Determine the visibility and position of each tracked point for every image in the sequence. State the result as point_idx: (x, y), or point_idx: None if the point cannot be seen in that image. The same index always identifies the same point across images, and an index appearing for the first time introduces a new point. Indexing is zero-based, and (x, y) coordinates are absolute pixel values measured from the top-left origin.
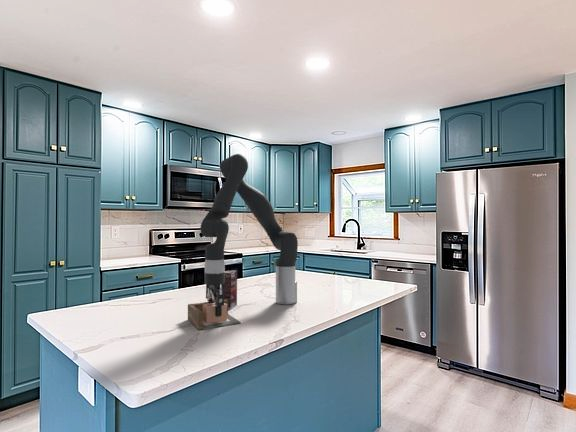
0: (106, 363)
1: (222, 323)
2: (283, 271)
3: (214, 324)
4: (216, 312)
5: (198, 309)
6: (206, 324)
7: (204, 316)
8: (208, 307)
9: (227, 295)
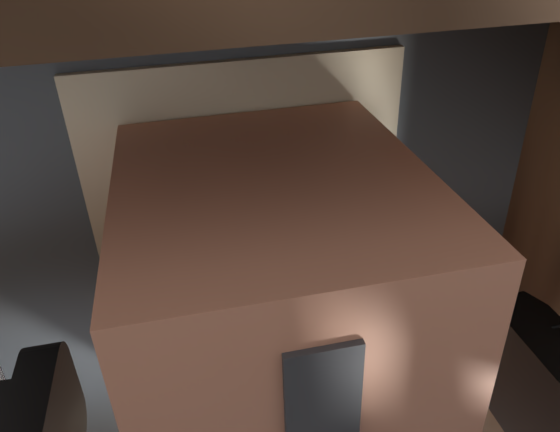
0: None
1: (71, 334)
2: None
3: (56, 232)
4: (7, 418)
5: (192, 43)
6: (68, 113)
7: (261, 149)
8: (107, 367)
9: None
